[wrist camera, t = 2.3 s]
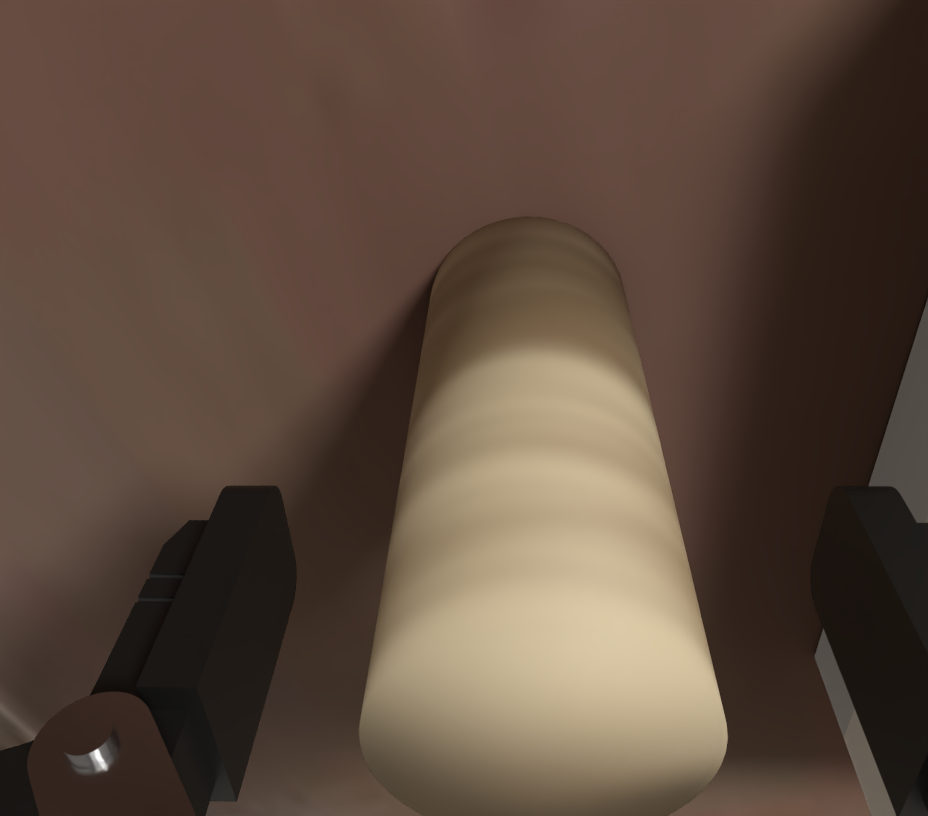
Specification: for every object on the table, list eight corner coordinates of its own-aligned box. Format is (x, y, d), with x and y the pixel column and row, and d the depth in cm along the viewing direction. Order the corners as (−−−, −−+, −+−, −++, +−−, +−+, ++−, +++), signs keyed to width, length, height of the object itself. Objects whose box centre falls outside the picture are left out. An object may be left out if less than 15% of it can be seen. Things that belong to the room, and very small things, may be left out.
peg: (423, 218, 16) (337, 624, 8) (632, 214, 16) (756, 629, 8) (435, 389, 19) (377, 838, 10) (617, 387, 18) (703, 845, 10)
